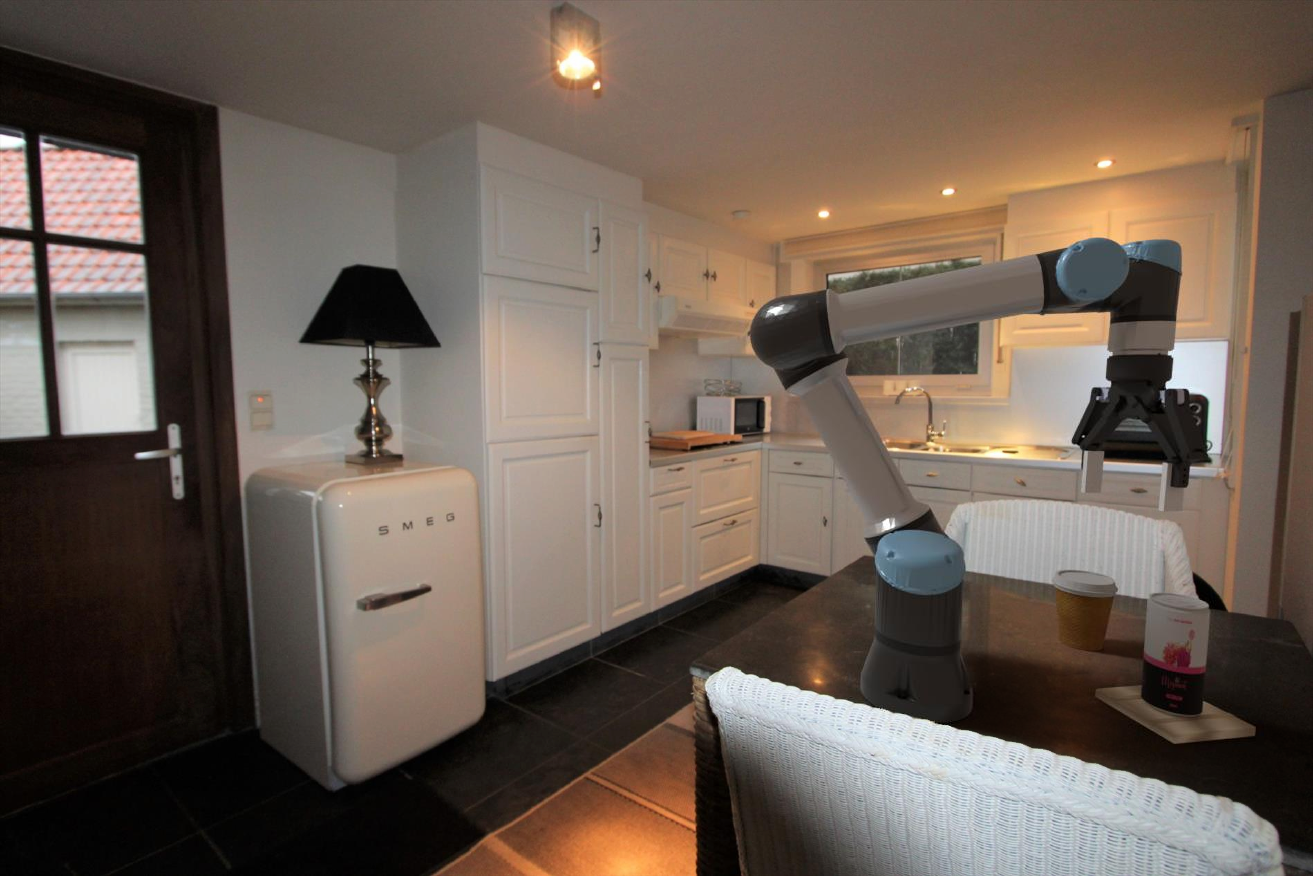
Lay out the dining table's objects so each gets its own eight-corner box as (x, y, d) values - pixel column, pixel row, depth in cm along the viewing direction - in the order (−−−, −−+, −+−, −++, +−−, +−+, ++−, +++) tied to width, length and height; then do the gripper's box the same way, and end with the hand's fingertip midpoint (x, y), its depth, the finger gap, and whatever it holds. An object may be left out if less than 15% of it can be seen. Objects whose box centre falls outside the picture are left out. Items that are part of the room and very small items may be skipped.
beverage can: (1184, 723, 82) (1193, 612, 80) (1130, 700, 88) (1137, 596, 86) (1212, 712, 84) (1221, 604, 83) (1157, 690, 90) (1165, 589, 89)
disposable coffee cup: (1125, 657, 104) (1130, 587, 103) (1062, 652, 106) (1066, 583, 105) (1097, 634, 113) (1101, 570, 112) (1039, 630, 115) (1043, 567, 114)
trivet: (1174, 743, 79) (1174, 734, 79) (1095, 696, 91) (1095, 688, 91) (1254, 735, 81) (1255, 726, 81) (1167, 690, 93) (1167, 682, 93)
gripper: (1255, 350, 77) (1238, 520, 79) (1094, 357, 101) (1085, 486, 103) (1199, 349, 76) (1184, 520, 78) (1051, 356, 101) (1042, 486, 103)
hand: (1127, 501), depth 91 cm, fingers open, 13 cm apart
